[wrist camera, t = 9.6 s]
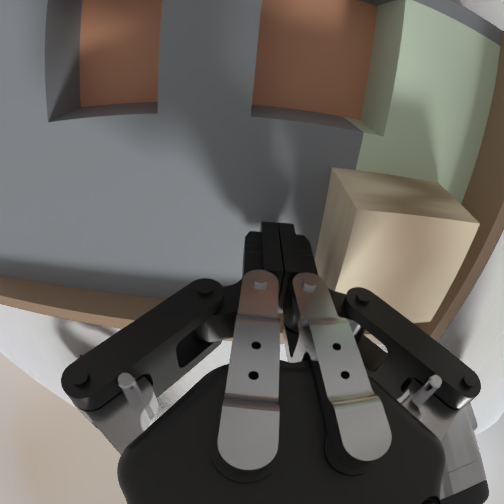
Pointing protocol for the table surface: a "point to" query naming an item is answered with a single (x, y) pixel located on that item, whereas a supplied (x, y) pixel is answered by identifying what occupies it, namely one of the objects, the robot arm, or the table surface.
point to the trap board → (226, 136)
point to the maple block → (393, 239)
